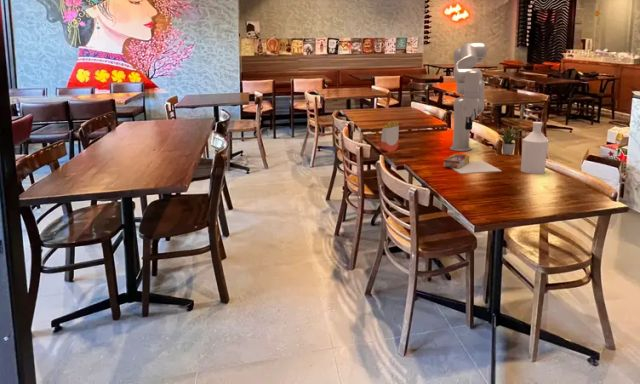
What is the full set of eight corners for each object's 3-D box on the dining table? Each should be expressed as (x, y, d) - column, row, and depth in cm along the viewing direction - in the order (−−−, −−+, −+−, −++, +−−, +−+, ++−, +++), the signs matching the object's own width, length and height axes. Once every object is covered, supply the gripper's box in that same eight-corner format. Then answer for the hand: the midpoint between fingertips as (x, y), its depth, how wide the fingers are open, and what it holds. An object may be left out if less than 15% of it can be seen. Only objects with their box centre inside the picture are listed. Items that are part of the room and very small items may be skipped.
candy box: (453, 161, 283) (443, 166, 272) (454, 153, 282) (443, 158, 270) (469, 163, 279) (459, 168, 267) (470, 155, 277) (459, 160, 265)
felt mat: (445, 164, 278) (445, 163, 278) (483, 162, 281) (483, 161, 281) (460, 174, 259) (460, 173, 259) (501, 171, 263) (501, 170, 262)
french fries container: (380, 151, 311) (381, 122, 306) (392, 148, 318) (393, 119, 313) (386, 152, 308) (386, 123, 303) (398, 149, 315) (399, 120, 309)
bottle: (524, 166, 271) (529, 119, 263) (548, 170, 264) (553, 121, 256) (516, 171, 262) (521, 123, 255) (540, 175, 255) (546, 125, 247)
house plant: (523, 157, 291) (526, 128, 286) (498, 156, 294) (500, 128, 289) (519, 151, 304) (522, 124, 299) (495, 150, 307) (497, 123, 302)
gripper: (458, 93, 273) (456, 126, 279) (470, 97, 259) (467, 132, 265) (471, 92, 274) (469, 126, 280) (484, 96, 260) (481, 131, 266)
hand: (468, 129), depth 273 cm, fingers closed
